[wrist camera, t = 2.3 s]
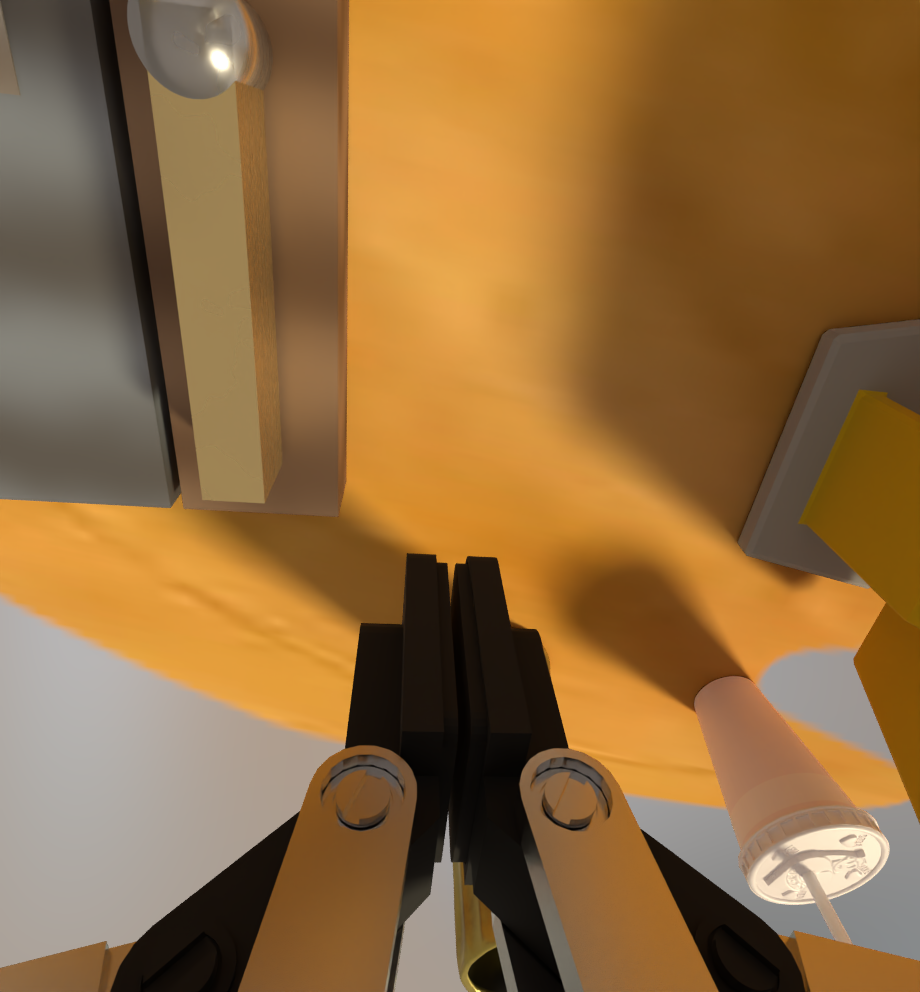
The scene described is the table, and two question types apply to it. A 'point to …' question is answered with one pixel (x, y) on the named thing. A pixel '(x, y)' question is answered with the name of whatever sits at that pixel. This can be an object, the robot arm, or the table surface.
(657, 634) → the table surface
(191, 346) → the latch bar
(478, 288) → the table surface
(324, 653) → the table surface
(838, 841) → the smoothie
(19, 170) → the door mockup
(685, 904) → the robot arm
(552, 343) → the table surface
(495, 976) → the vase
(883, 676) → the toy computer monitor
